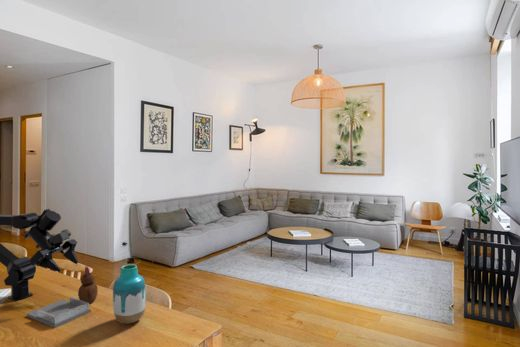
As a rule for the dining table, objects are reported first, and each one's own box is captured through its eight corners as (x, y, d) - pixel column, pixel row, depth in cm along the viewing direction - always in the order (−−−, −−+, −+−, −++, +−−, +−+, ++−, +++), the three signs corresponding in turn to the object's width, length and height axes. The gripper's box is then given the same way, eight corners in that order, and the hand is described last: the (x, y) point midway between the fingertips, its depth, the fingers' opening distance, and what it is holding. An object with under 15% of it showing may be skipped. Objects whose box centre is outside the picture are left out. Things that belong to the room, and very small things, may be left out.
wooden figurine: (88, 307, 125) (87, 268, 124) (75, 305, 127) (74, 267, 126) (100, 299, 132) (99, 262, 131) (88, 298, 133) (87, 261, 132)
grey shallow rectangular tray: (26, 316, 118) (26, 306, 118) (63, 301, 130) (62, 293, 129) (54, 328, 110) (54, 317, 110) (90, 311, 121) (90, 302, 121)
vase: (152, 316, 118) (151, 263, 117) (132, 330, 108) (130, 273, 107) (128, 311, 122) (127, 260, 121) (106, 325, 112) (104, 269, 111)
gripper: (35, 229, 120) (63, 261, 119) (72, 219, 139) (97, 246, 138) (17, 250, 122) (45, 281, 121) (56, 237, 141) (80, 264, 139)
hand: (68, 267), depth 130 cm, fingers open, 9 cm apart
